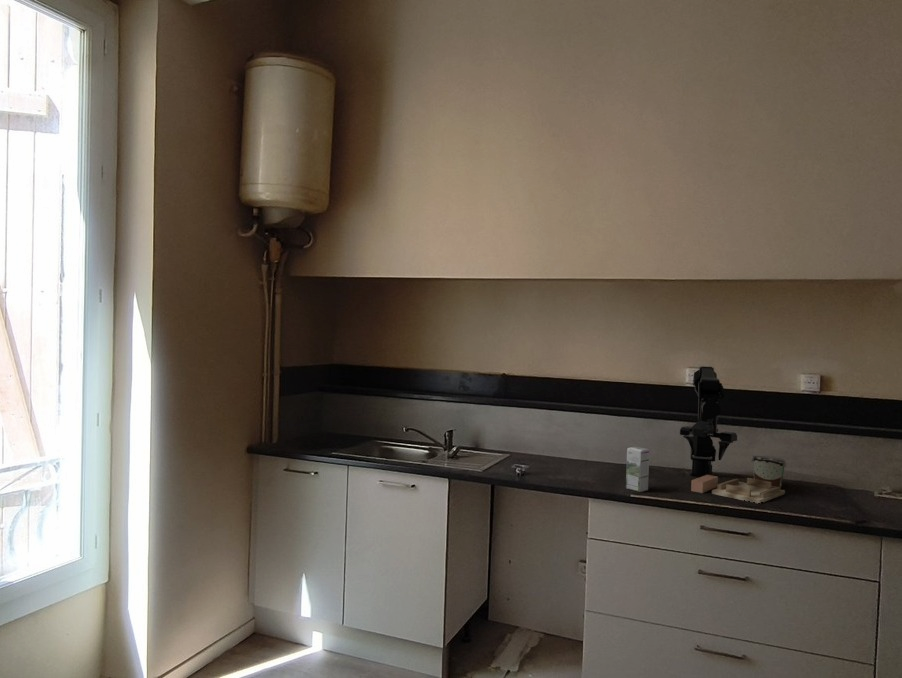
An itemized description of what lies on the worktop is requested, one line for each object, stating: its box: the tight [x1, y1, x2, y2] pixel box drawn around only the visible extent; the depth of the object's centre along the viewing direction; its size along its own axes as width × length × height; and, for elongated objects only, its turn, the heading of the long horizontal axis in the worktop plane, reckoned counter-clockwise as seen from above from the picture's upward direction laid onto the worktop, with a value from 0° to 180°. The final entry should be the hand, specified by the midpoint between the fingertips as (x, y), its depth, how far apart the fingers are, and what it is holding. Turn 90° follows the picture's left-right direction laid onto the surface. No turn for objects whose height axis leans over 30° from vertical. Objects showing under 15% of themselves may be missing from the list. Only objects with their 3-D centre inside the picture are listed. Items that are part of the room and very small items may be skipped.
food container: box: [750, 455, 787, 488], centre depth 244 cm, size 12×6×10 cm, turn 41°
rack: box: [711, 477, 786, 504], centre depth 228 cm, size 16×22×4 cm
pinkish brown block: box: [690, 474, 719, 494], centre depth 233 cm, size 4×14×4 cm, turn 137°
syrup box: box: [625, 446, 650, 493], centre depth 228 cm, size 6×6×14 cm
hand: (706, 457), depth 233 cm, fingers open, 9 cm apart
